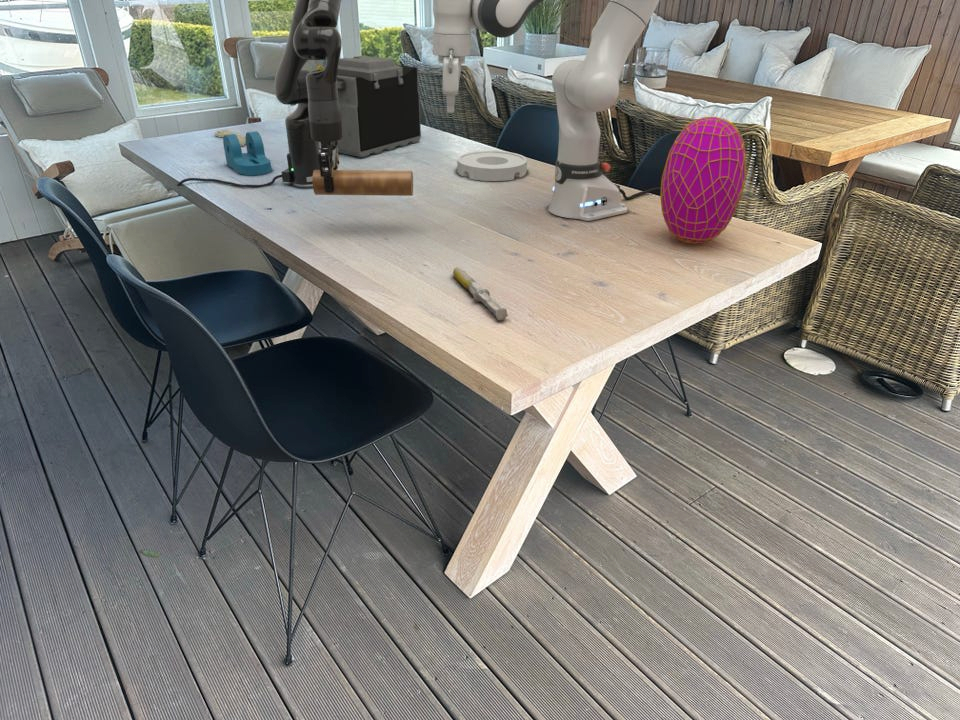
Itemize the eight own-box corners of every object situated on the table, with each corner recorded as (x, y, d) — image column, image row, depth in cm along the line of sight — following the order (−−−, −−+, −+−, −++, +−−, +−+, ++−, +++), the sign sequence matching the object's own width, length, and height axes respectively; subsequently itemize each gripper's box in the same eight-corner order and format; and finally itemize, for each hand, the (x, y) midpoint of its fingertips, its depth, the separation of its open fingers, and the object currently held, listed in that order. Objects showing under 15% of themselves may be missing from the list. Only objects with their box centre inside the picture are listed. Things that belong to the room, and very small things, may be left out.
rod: (314, 197, 170) (311, 173, 167) (318, 190, 175) (316, 167, 172) (411, 198, 171) (411, 174, 168) (413, 191, 176) (412, 168, 173)
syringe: (449, 274, 155) (449, 263, 153) (465, 272, 156) (464, 260, 154) (490, 323, 135) (491, 310, 133) (508, 319, 136) (508, 307, 134)
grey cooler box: (383, 133, 276) (378, 52, 261) (425, 141, 265) (422, 56, 250) (314, 150, 251) (304, 61, 235) (358, 160, 240) (350, 67, 224)
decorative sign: (264, 139, 260) (239, 143, 254) (265, 142, 261) (240, 146, 255) (233, 128, 277) (209, 131, 271) (233, 130, 277) (209, 134, 271)
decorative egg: (709, 261, 163) (734, 131, 148) (638, 240, 174) (655, 118, 159) (744, 240, 175) (770, 118, 160) (676, 222, 187) (694, 107, 171)
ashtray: (459, 161, 239) (459, 150, 237) (525, 163, 239) (526, 151, 237) (455, 180, 219) (455, 167, 217) (527, 181, 219) (528, 169, 217)
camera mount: (227, 164, 233) (221, 132, 227) (257, 160, 238) (252, 129, 233) (244, 176, 220) (239, 143, 215) (276, 172, 225) (271, 139, 220)
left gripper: (336, 125, 157) (342, 197, 166) (345, 112, 170) (351, 180, 178) (303, 125, 157) (311, 196, 166) (315, 112, 170) (322, 179, 178)
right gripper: (465, 52, 152) (463, 117, 159) (465, 42, 170) (464, 101, 176) (436, 51, 152) (436, 116, 159) (439, 42, 169) (439, 101, 176)
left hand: (332, 187), depth 172 cm, fingers closed on rod, 6 cm apart
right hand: (450, 108), depth 168 cm, fingers open, 8 cm apart
